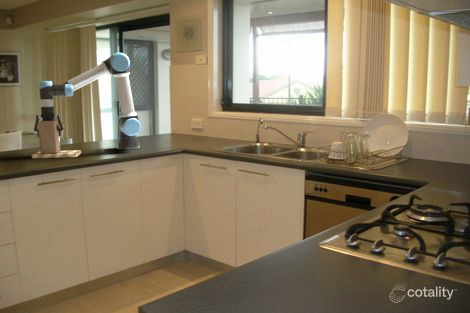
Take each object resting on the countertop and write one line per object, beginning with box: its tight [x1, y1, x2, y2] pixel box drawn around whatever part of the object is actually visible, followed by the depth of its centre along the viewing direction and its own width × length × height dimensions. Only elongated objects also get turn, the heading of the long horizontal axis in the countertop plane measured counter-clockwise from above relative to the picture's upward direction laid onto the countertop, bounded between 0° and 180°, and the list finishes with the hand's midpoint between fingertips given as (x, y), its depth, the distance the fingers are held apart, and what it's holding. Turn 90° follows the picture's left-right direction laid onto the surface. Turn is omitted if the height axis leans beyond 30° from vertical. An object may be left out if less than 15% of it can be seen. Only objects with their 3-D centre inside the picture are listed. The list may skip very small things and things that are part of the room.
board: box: [31, 149, 82, 159], centre depth 287 cm, size 26×16×2 cm, turn 99°
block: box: [37, 119, 61, 154], centre depth 284 cm, size 10×10×20 cm
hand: (49, 141), depth 285 cm, fingers closed on block, 10 cm apart
